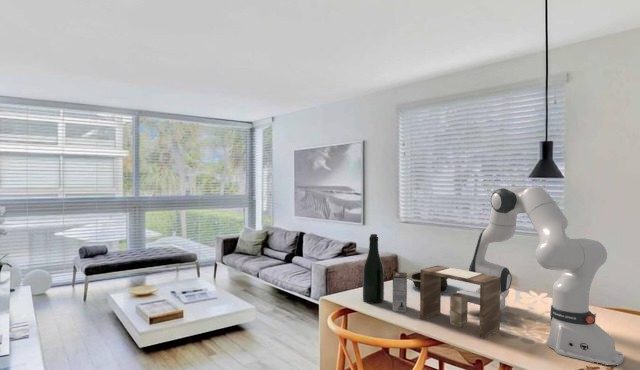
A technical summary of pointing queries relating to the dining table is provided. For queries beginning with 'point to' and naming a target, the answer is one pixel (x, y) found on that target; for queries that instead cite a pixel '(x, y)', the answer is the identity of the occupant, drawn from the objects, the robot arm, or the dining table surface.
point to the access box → (488, 283)
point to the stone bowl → (416, 280)
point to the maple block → (458, 309)
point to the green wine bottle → (373, 274)
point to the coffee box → (399, 291)
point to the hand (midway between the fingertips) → (470, 302)
